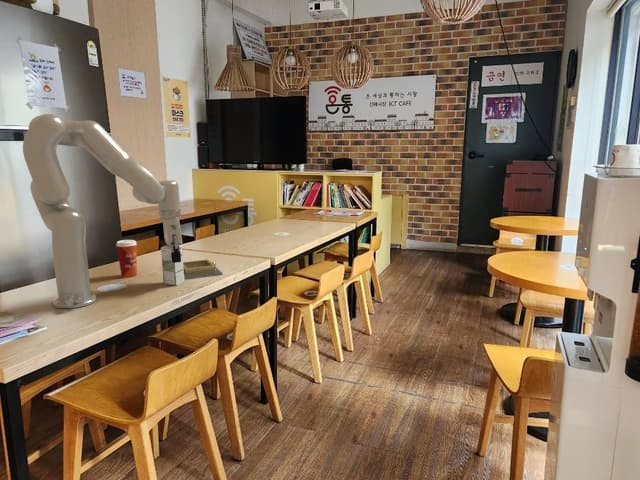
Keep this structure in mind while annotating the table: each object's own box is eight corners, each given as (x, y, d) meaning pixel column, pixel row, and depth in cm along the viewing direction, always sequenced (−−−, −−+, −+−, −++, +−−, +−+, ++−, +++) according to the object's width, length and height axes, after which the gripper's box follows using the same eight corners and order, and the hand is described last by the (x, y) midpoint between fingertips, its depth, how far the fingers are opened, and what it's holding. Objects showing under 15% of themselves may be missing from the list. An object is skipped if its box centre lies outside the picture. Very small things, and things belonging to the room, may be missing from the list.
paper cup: (132, 278, 178) (129, 243, 175) (114, 277, 180) (111, 242, 177) (143, 273, 186) (140, 239, 183) (126, 272, 187) (123, 239, 184)
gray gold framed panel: (222, 274, 184) (222, 267, 183) (184, 279, 177) (184, 272, 176) (208, 262, 203) (208, 256, 202) (174, 266, 196) (173, 259, 196)
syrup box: (185, 281, 174) (182, 244, 172) (176, 286, 169) (173, 247, 166) (171, 280, 176) (169, 243, 173) (162, 284, 170) (160, 246, 167)
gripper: (185, 216, 162) (189, 263, 165) (176, 210, 177) (179, 253, 180) (163, 218, 158) (167, 266, 162) (155, 212, 173) (160, 255, 177)
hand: (174, 259), depth 171 cm, fingers open, 9 cm apart
